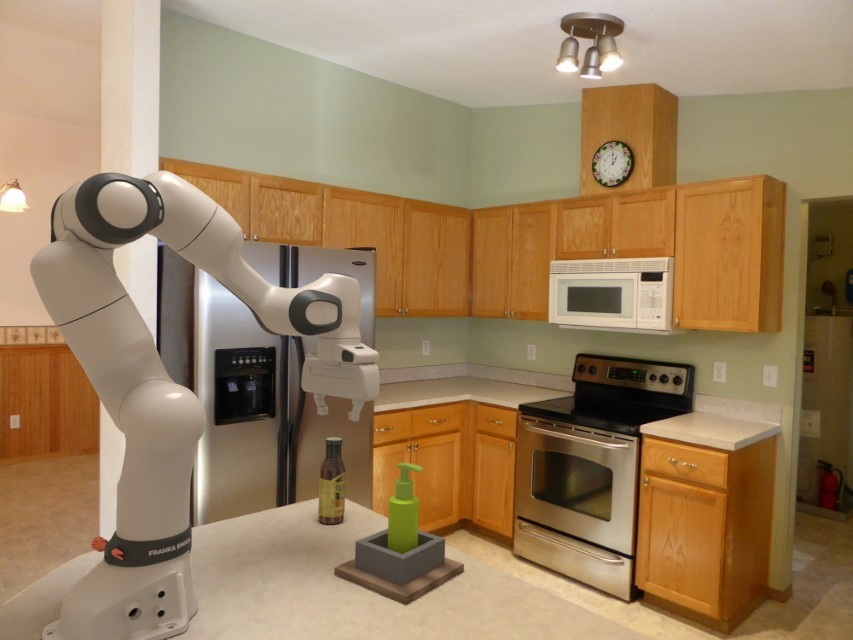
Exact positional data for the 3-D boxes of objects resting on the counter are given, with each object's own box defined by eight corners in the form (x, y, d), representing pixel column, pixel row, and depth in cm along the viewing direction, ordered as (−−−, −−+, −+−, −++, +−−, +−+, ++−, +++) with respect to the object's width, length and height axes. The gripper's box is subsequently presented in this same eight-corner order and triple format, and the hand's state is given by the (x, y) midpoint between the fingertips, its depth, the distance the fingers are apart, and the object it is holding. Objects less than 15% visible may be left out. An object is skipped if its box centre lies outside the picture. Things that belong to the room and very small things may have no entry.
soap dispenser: (409, 576, 114) (412, 470, 113) (381, 566, 117) (383, 464, 117) (427, 565, 118) (430, 464, 118) (399, 556, 122) (401, 458, 122)
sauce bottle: (339, 526, 142) (341, 442, 142) (314, 524, 143) (316, 440, 143) (348, 517, 148) (350, 437, 148) (324, 514, 150) (326, 435, 149)
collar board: (406, 605, 105) (407, 568, 105) (334, 574, 116) (335, 541, 116) (463, 571, 120) (464, 538, 120) (395, 547, 131) (395, 517, 131)
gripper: (295, 348, 129) (293, 412, 130) (363, 355, 117) (361, 426, 117) (317, 347, 134) (316, 409, 135) (385, 354, 122) (383, 422, 122)
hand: (337, 417), depth 126 cm, fingers open, 8 cm apart
